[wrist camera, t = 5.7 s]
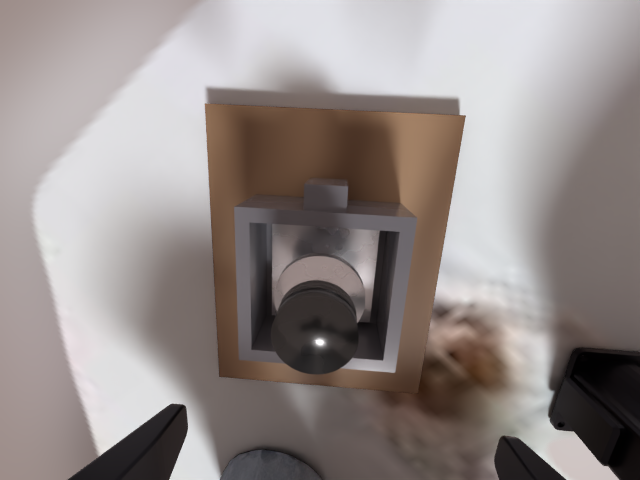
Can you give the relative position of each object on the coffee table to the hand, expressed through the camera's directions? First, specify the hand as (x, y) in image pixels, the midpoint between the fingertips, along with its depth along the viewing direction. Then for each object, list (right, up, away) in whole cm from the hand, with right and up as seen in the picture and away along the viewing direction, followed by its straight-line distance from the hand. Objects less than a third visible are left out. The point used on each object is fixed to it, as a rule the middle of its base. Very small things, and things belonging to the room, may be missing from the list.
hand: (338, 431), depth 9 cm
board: (0, +4, +11) cm, 12 cm away
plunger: (0, +4, +10) cm, 10 cm away
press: (0, +4, +10) cm, 11 cm away
